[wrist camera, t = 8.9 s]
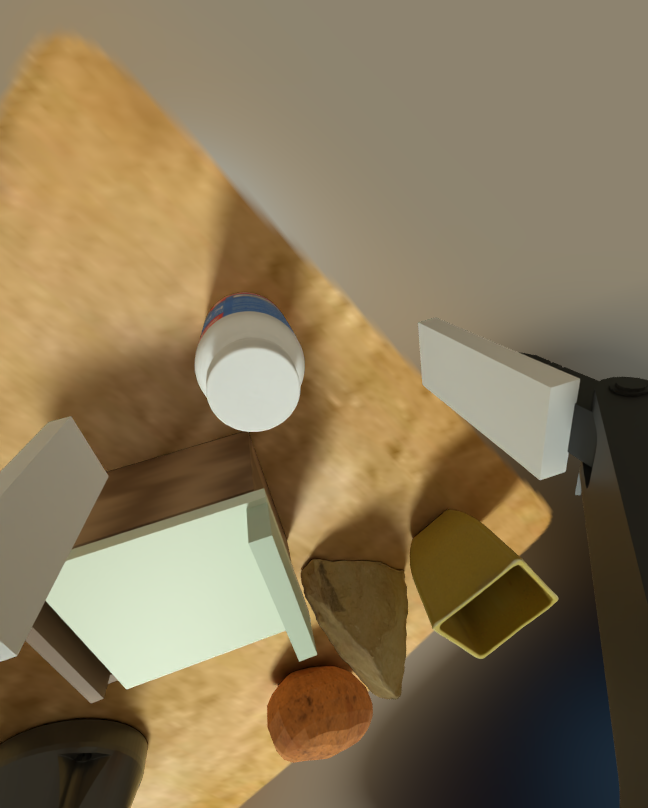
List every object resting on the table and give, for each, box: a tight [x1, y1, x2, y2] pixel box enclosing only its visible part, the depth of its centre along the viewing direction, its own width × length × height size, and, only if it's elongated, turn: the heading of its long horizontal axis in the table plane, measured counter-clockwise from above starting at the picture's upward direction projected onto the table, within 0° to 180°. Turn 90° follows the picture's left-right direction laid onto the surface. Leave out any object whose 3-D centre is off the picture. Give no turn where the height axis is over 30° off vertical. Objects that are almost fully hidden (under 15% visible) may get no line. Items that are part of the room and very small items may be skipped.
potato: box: [267, 666, 373, 763], centre depth 39 cm, size 9×11×8 cm
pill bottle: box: [195, 292, 305, 432], centre depth 19 cm, size 6×5×10 cm
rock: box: [301, 559, 408, 699], centre depth 33 cm, size 11×9×10 cm
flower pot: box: [410, 509, 558, 659], centre depth 33 cm, size 9×9×9 cm
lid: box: [46, 488, 317, 690], centre depth 21 cm, size 13×12×3 cm
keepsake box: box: [25, 431, 291, 703], centre depth 25 cm, size 14×12×8 cm
